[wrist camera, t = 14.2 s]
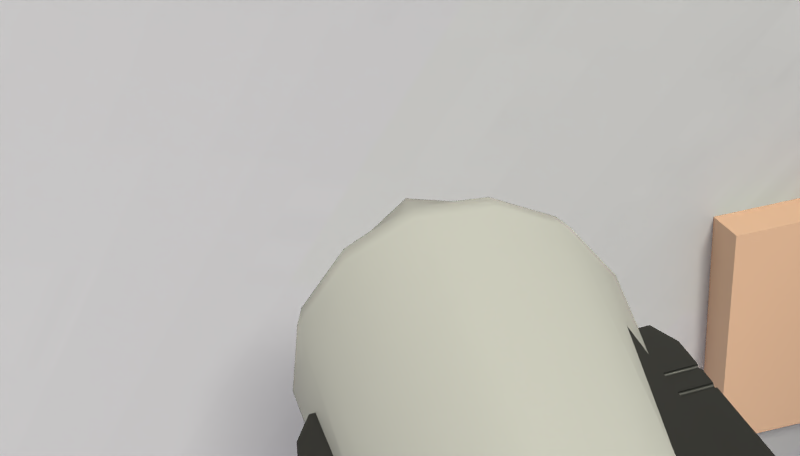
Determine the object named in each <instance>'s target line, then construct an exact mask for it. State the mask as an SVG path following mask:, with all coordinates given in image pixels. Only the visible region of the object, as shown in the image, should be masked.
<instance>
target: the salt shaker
mask: <svg viewBox="0 0 800 456" xmlns="http://www.w3.org/2000/svg"><path fill="white" fill-rule="evenodd" d="M627 326H628V327H627ZM628 328H629V329H630V330H631V332H632V333H633V334H634V336H635V337H636V338H637V339H638V341H639V342H640V343H641V345H642V346H643V347H644V349H645V350H646V351H647V349H646V347H645V344H644V341H643V339H642V336H641V334H640V331H639V329H638V327H637V324H636V322H635V320H634V317H633V315H632V313H631V310H630V308H629V306H628V303H627V301H626V299H625V296H624V294H623V292H622V289H621V287H620V285H619V282H618V280H617V278H616V275H615V274H614V273H613V272H612V271H611V270H610V269H609V268H608V267H607V266H606V265H605V264H604V263H603V262H602V261H601V260H600V258H599V257H598V256H597V255H596V254H595V253H594V252H593V251H592V250H591V249H590V248H589V247H588V246H587V245H586V244H585V243H584V242H583V241H582V240H581V238H580V237H579V236H578V235H577V234H576V233H575V232H574V231H573V230H572V229H571V228H570V227H569V226H567V225H566V224H565V223H563V222H562V221H561V220H559V219H558V218H557V217H555V216H551V215H548V214H544V213H541V212H538V211H534V210H531V209H527V208H524V207H520V206H517V205H514V204H510V203H507V202H503V201H500V200H496V199H493V198H490V197H486V198H477V199H469V200H460V201H438V200H423V199H408V198H406V199H405V200H404V201H402V202H401V203H400V204H399V205H398V206H397V207H396V208H395V209H394V210H393V211H392V212H391V213H390V214H388V215H387V216H386V217H385V218H384V219H383V220H382V221H381V222H380V223H379V224H378V225H377V226H376V227H375V228H373V229H372V230H371V231H370V232H368V233H367V234H365V235H364V236H362V237H361V238H359V239H358V240H356V241H355V242H353V243H352V244H350V245H349V246H348V247H346V248H345V249H343V251H342V252H341V254H340V255H339V256H338V258H337V259H336V261H335V262H334V263H333V265H332V266H331V268H330V269H329V270H328V272H327V273H326V275H325V276H324V277H323V279H322V280H321V281H320V283H319V284H318V286H317V287H316V288H315V290H314V291H313V293H312V294H311V295H310V297H309V298H308V300H307V301H306V302H305V304H304V305H303V307H302V308H301V312H300V317H299V321H298V325H297V338H296V352H295V367H294V381H293V393H294V395H295V398H296V401H297V403H298V406H299V409H300V411H301V414H302V417H303V419H304V422H306V420H307V417H308V415H309V414H312V413H316V415H317V417H318V420H319V422H320V425H321V427H322V429H323V432H324V434H325V437H326V439H327V442H328V444H329V446H330V449H331V451H332V454H333V456H676V455H675V453H674V450H673V448H672V445H671V443H670V440H669V437H668V435H667V432H666V429H665V427H664V424H663V421H662V419H661V416H660V413H659V410H658V408H657V405H656V402H655V400H654V397H653V394H652V392H651V389H650V386H649V384H648V381H647V378H646V376H645V373H644V370H643V368H642V365H641V362H640V360H639V357H638V354H637V352H636V349H635V346H634V343H633V341H632V338H631V335H630V333H629V330H628ZM647 353H648V352H647Z"/></svg>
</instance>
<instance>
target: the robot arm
mask: <svg viewBox="0 0 800 456" xmlns="http://www.w3.org/2000/svg"><path fill="white" fill-rule="evenodd" d="M627 327H628V326H627ZM638 329H639V331H640V334H641V336H642V339H643V341H644V344H645V347H646V349H647V351H646V350H645V349H644V347H643V346H642V345H641V343H640V342H639V341H638V339H637V338H636V337H635V336H634V334H633V333H632V332H631V330H630V329H629V328H628V330H629V333H630V335H631V338H632V341H633V343H634V346H635V349H636V352H637V354H638V357H639V360H640V362H641V365H642V368H643V370H644V373H645V376H646V378H647V381H648V384H649V386H650V389H651V392H652V394H653V397H654V400H655V402H656V405H657V408H658V410H659V413H660V416H661V419H662V421H663V424H664V427H665V429H666V432H667V435H668V437H669V440H670V443H671V445H672V448H673V450H674V453H675V455H676V456H775V455H774V454H773V453H772V452H771V450H770V449H769V448H768V447H767V446H766V444H765V443H764V442H763V441H762V440H761V438H760V437H759V436H758V435H757V434H756V433H755V431H754V430H753V429H752V428H751V427H750V425H749V424H748V423H747V422H746V421H745V420H744V418H743V417H742V416H741V415H740V414H739V412H738V411H737V410H736V409H735V408H734V407H733V405H732V404H731V403H730V402H729V401H728V399H727V398H726V397H725V396H724V395H723V393H722V392H721V391H720V390H719V389H718V388H717V387H716V388H715V387H714V384H713V382H712V380H711V379H710V378H709V377H708V376H707V375H706V373H705V372H704V371H703V370H702V369H699V368H698V364H697V363H696V361H695V360H694V359H693V358H692V357H691V356H690V354H689V353H688V352H687V351H686V350H685V348H684V347H683V346H682V345H681V344H680V343H679V341H677V340H675V339H673V338H672V337H670V336H668V335H666V334H664V333H663V332H661V331H659V330H657V329H655V328H654V327H652V326H650V325H649V326H645V327H641V328H638ZM647 352H648V353H647ZM297 453H298V456H333V454H332V451H331V449H330V446H329V444H328V442H327V439H326V437H325V434H324V432H323V429H322V427H321V425H320V422H319V420H318V417H317V415H316V413H312V414H309V415H308V417H307V420H306V422H305V424H304V427H303V429H302V431H301V433H300V436H299V438H298V440H297Z"/></svg>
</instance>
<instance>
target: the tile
mask: <svg viewBox="0 0 800 456" xmlns="http://www.w3.org/2000/svg"><path fill="white" fill-rule="evenodd" d="M704 372H705V373H706V375H707V376H708V377H709V378H710V379H711V380H712V382H713V384H714V387H715V388H716V387H717V388H718V389H719V390H720V391H721V392H722V393H723V395H724V396H725V397H726V398H727V399H728V401H729V402H730V403H731V404H732V405H733V407H734V408H735V409H736V410H737V411H738V412H739V414H740V415H741V416H742V417H743V418H744V420H745V421H746V422H747V423H748V424H749V425H750V427H751V428H752V429H753V430H754V431H755V433H760V432H764V431H769V430H773V429H777V428H781V427H786V426H790V425H794V424H798V423H800V198H799V199H794V200H789V201H785V202H780V203H775V204H771V205H766V206H762V207H757V208H752V209H748V210H743V211H738V212H734V213H729V214H725V215H720V216H715V217H714V221H713V236H712V252H711V268H710V284H709V300H708V315H707V331H706V347H705V363H704Z"/></svg>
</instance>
